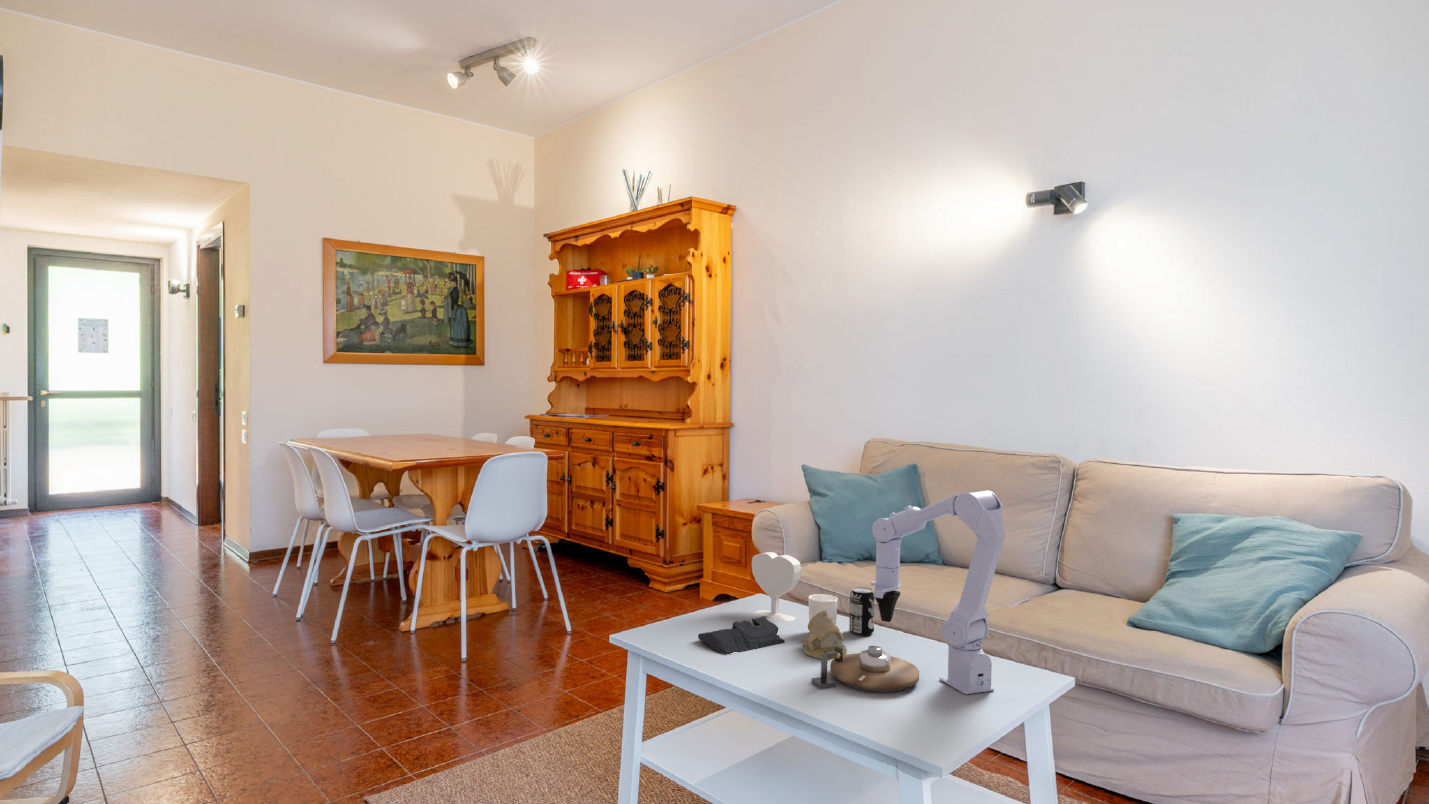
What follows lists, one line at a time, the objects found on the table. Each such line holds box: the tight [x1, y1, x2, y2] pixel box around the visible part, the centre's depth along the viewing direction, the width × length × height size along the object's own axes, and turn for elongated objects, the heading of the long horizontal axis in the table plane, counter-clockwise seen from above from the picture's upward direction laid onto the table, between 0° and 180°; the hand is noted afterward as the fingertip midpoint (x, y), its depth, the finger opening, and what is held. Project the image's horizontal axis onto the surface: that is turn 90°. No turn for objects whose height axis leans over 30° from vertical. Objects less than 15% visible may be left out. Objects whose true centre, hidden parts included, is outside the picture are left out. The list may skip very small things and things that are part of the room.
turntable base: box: [841, 681, 906, 693], centre depth 179 cm, size 16×16×1 cm
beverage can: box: [848, 586, 875, 637], centre depth 213 cm, size 7×7×12 cm
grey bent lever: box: [811, 652, 840, 690], centre depth 175 cm, size 4×6×7 cm, turn 110°
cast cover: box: [859, 645, 892, 673], centre depth 179 cm, size 7×7×5 cm
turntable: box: [829, 646, 920, 690], centre depth 179 cm, size 20×20×4 cm
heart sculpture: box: [751, 551, 802, 622], centre depth 228 cm, size 16×5×18 cm, turn 49°
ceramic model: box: [803, 611, 848, 660], centre depth 198 cm, size 14×11×10 cm
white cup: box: [807, 593, 838, 626], centre depth 211 cm, size 8×8×10 cm
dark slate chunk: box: [697, 616, 786, 655], centre depth 204 cm, size 15×22×5 cm
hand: (886, 620), depth 192 cm, fingers closed
